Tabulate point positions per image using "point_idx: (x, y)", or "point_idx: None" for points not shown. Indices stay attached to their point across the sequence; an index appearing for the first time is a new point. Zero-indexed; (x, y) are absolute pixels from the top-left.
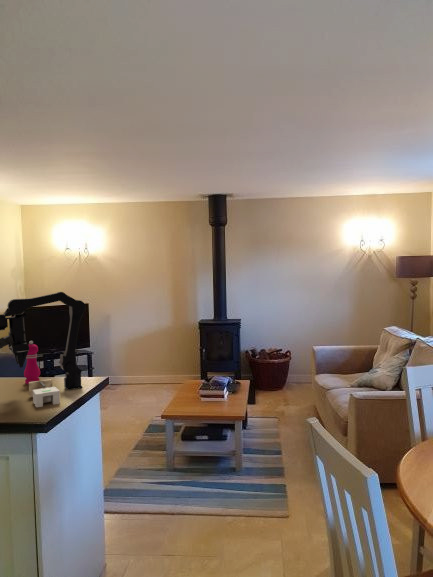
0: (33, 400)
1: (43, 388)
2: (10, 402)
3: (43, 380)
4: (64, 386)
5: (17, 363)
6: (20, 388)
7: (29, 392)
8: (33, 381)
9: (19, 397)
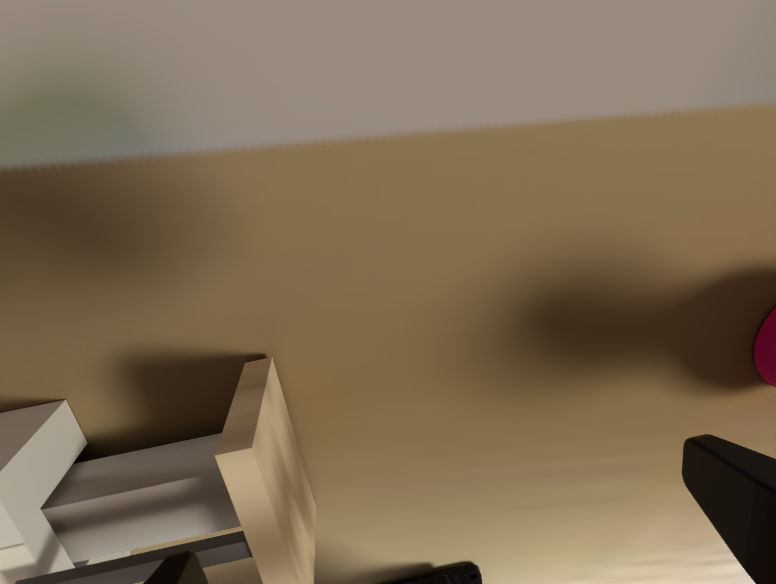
0: (24, 419)
1: (20, 570)
2: (133, 206)
3: (278, 572)
4: (437, 579)
5: (692, 449)
6: (662, 251)
7: (237, 386)
8: (771, 358)
9: (306, 272)
